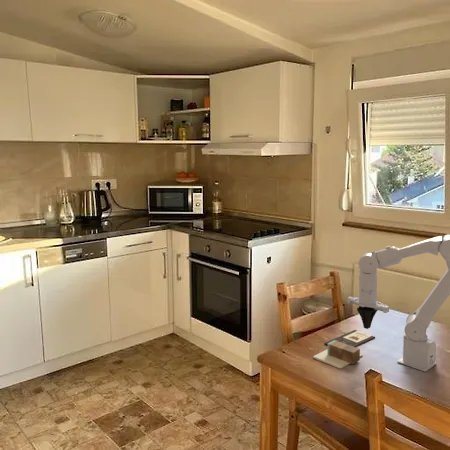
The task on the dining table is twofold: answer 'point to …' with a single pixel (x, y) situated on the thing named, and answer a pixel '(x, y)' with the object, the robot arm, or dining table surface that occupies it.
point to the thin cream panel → (331, 359)
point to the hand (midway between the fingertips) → (367, 327)
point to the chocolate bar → (353, 338)
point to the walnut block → (343, 352)
